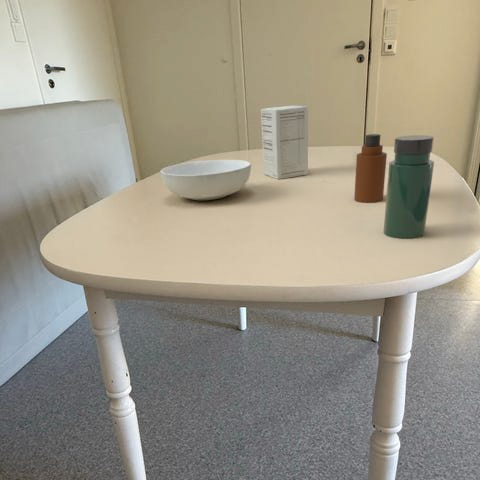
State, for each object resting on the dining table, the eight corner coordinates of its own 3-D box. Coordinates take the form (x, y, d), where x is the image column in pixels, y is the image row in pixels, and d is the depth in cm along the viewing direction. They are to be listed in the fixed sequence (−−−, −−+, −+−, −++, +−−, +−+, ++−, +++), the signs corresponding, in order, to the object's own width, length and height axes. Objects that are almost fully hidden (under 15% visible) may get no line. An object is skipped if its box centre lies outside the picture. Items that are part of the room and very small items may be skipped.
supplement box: (292, 170, 128) (292, 105, 120) (309, 174, 120) (309, 105, 112) (262, 174, 125) (259, 108, 117) (277, 179, 117) (275, 109, 109)
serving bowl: (269, 189, 107) (268, 159, 104) (217, 211, 93) (214, 177, 89) (201, 184, 118) (199, 157, 115) (145, 203, 103) (140, 172, 100)
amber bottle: (379, 195, 96) (384, 132, 90) (385, 201, 90) (391, 135, 85) (352, 196, 96) (355, 134, 90) (356, 203, 91) (360, 137, 85)
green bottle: (417, 225, 76) (429, 133, 69) (430, 237, 70) (444, 138, 63) (379, 227, 76) (387, 136, 69) (388, 239, 70) (397, 141, 64)
